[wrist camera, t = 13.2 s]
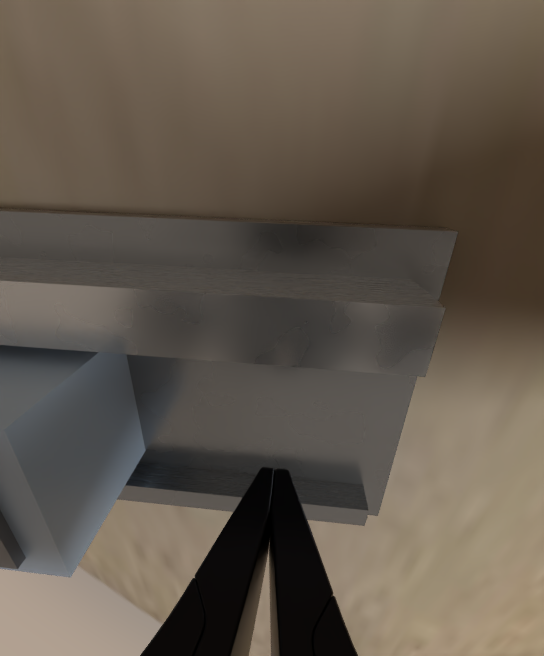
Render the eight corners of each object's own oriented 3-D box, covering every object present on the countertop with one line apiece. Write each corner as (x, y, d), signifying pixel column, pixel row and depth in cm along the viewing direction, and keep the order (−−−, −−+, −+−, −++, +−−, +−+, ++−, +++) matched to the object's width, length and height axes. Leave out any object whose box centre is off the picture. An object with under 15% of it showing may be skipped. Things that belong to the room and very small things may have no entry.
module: (122, 333, 11) (-9, 439, 7) (145, 450, 14) (63, 588, 9) (-27, 323, 12) (-253, 416, 7) (22, 439, 14) (-118, 565, 9)
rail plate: (443, 227, 10) (527, 251, 6) (373, 496, 15) (395, 592, 12) (-121, 202, 11) (-325, 209, 7) (2, 458, 17) (-82, 534, 13)
